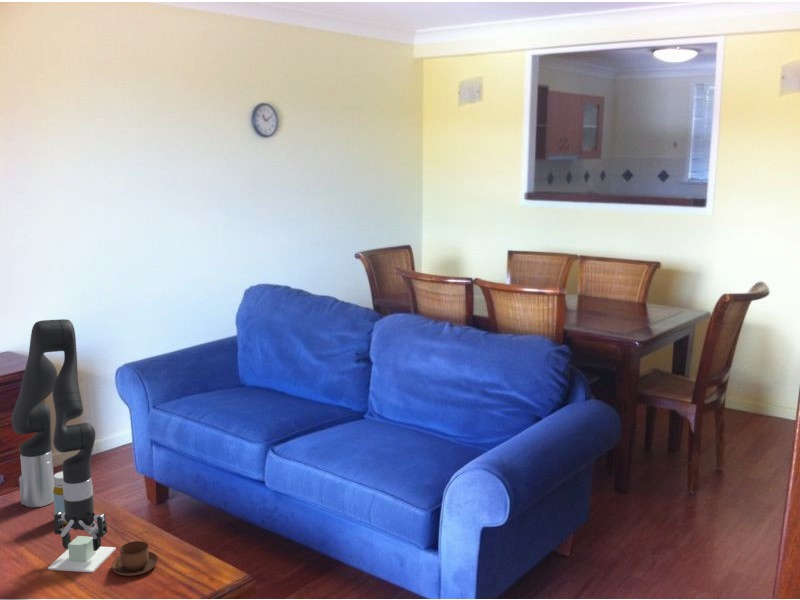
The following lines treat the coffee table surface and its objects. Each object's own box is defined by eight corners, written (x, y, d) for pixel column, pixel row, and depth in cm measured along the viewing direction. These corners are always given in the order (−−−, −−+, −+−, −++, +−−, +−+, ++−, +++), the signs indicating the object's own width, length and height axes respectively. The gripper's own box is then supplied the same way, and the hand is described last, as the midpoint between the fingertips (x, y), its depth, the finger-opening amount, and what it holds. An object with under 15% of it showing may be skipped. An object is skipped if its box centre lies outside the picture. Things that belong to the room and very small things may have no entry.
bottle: (73, 525, 232) (70, 479, 229) (51, 524, 232) (47, 478, 230) (83, 515, 239) (80, 470, 236) (61, 514, 239) (58, 469, 236)
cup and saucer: (143, 582, 201) (142, 561, 200) (103, 577, 203) (101, 555, 202) (166, 560, 212) (165, 539, 211) (127, 555, 215) (126, 535, 214)
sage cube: (69, 561, 210) (68, 544, 209) (79, 552, 215) (78, 535, 214) (86, 562, 209) (85, 545, 208) (95, 553, 214) (94, 537, 213)
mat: (47, 569, 207) (47, 567, 206) (73, 546, 219) (73, 544, 219) (92, 572, 205) (92, 570, 205) (115, 549, 218) (115, 547, 218)
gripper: (109, 490, 212) (112, 543, 215) (61, 487, 213) (65, 540, 216) (96, 501, 204) (99, 557, 207) (46, 498, 206) (50, 553, 209)
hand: (82, 548), depth 212 cm, fingers open, 8 cm apart
